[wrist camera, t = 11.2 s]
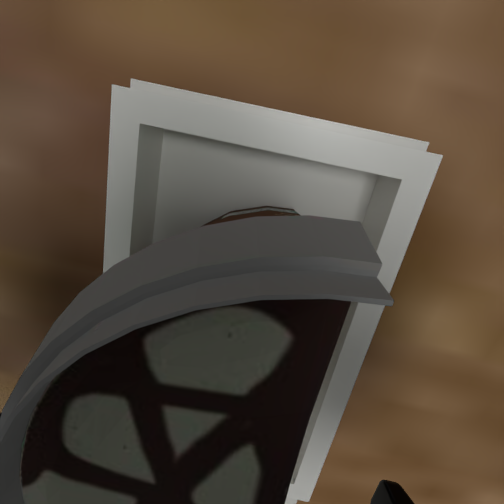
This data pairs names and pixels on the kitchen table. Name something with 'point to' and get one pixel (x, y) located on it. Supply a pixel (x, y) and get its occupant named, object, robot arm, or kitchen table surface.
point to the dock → (264, 201)
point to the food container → (189, 366)
